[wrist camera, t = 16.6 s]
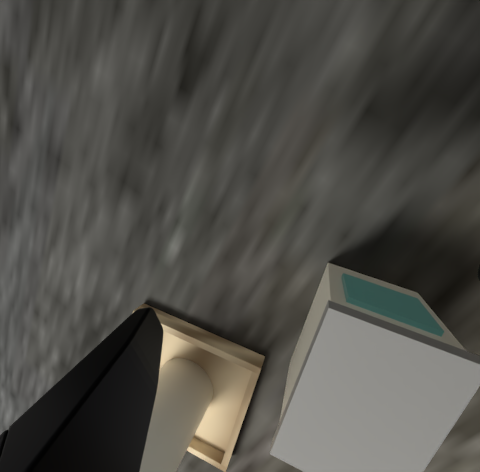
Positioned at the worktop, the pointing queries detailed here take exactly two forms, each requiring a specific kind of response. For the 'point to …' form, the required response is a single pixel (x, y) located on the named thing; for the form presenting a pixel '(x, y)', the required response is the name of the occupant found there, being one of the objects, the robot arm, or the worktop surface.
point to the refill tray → (214, 383)
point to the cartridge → (175, 414)
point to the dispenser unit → (371, 380)
